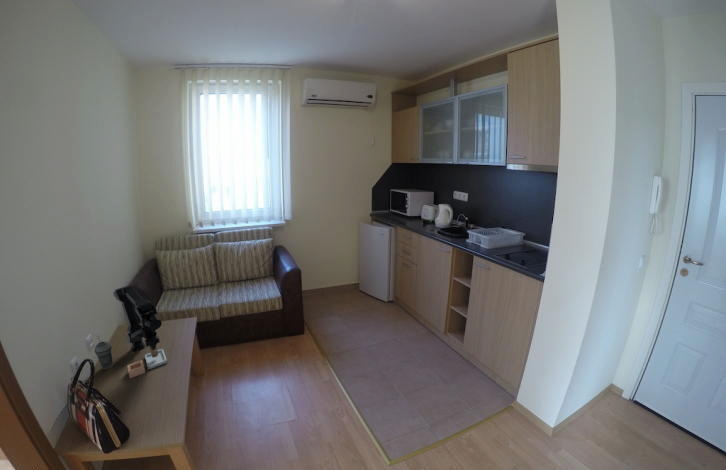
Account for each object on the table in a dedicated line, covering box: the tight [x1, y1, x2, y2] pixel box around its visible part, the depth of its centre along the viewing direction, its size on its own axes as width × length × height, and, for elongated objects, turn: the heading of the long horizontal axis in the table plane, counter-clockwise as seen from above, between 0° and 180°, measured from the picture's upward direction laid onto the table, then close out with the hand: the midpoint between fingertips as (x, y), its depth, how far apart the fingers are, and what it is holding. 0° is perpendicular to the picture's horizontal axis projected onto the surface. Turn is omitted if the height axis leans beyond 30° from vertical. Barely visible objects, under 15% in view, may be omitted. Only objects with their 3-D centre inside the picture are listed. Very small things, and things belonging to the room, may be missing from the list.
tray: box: [144, 348, 168, 370], centre depth 179 cm, size 14×9×2 cm, turn 40°
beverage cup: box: [94, 334, 114, 370], centre depth 172 cm, size 7×7×20 cm
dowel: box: [149, 346, 158, 357], centre depth 177 cm, size 3×3×10 cm
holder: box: [127, 359, 146, 379], centre depth 169 cm, size 7×7×4 cm
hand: (153, 348), depth 177 cm, fingers closed on dowel, 3 cm apart
